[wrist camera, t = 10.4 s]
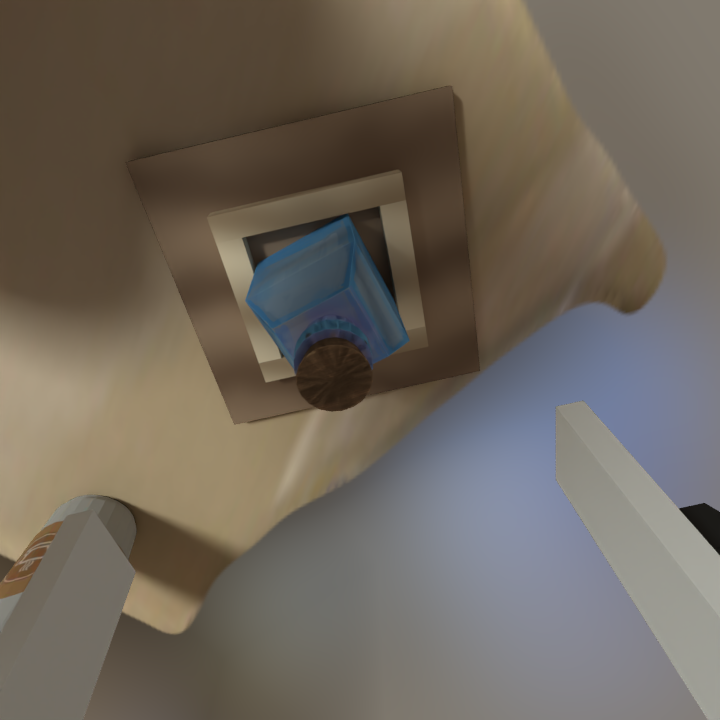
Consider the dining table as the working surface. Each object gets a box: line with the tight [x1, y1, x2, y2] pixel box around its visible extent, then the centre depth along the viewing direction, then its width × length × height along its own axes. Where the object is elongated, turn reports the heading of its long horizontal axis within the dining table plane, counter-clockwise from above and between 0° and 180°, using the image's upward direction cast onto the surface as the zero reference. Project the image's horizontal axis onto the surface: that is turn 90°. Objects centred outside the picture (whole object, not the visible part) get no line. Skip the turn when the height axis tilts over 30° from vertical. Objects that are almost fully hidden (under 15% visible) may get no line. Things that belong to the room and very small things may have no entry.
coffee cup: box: [0, 495, 137, 633], centre depth 33 cm, size 8×8×15 cm
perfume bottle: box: [245, 213, 410, 411], centre depth 25 cm, size 6×6×12 cm
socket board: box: [126, 86, 480, 425], centre depth 30 cm, size 18×18×2 cm
